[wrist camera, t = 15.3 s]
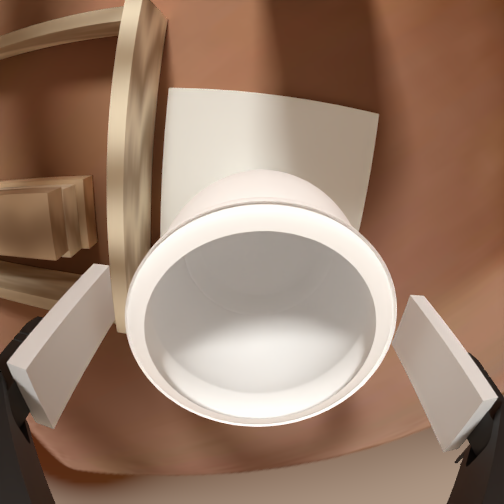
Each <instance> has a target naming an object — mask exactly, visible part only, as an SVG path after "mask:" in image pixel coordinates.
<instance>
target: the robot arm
mask: <svg viewBox="0 0 504 504" xmlns="http://www.w3.org/2000/svg"><path fill="white" fill-rule="evenodd" d="M114 320H115V314H114V306H113V298H112V289H111V279H110V268H109V265H102V264H93V265H92V266H91V267H90V268H89V269H88V270H87V271H86V272H85V273H84V274H83V275H82V276H81V277H80V278H79V279H78V280H77V281H76V282H75V284H74V285H73V286H72V287H71V288H70V289H69V290H68V291H67V292H66V293H65V294H64V295H63V297H62V298H61V299H60V300H59V301H58V302H57V303H56V304H55V305H54V307H53V308H52V309H51V310H50V311H49V312H48V313H47V314H46V316H45V317H44V318H42V317H36V318H34V319H33V320H31V321H29V322H28V323H27V324H26V325H25V326H24V327H23V328H22V329H21V330H20V333H18V334H17V335H16V336H15V337H14V340H12V341H11V342H10V343H9V344H8V346H7V347H6V348H5V349H4V350H3V352H2V353H1V354H0V504H55V501H54V499H53V497H52V494H51V492H50V489H49V487H48V484H47V481H46V479H45V476H44V473H43V470H42V468H41V465H40V462H39V459H38V456H37V452H36V449H35V446H34V443H33V439H32V436H31V432H30V428H29V425H28V423H27V421H26V417H27V416H28V414H29V412H30V413H31V415H32V416H33V418H34V420H35V422H36V423H39V424H42V425H44V426H47V427H49V428H52V429H54V428H55V426H56V424H57V422H58V420H59V418H60V416H61V414H62V412H63V410H64V408H65V406H66V404H67V403H68V401H69V399H70V397H71V395H72V393H73V391H74V390H75V388H76V386H77V384H78V382H79V380H80V379H81V377H82V375H83V373H84V371H85V370H86V368H87V366H88V364H89V363H90V361H91V359H92V357H93V356H94V354H95V352H96V351H97V349H98V347H99V345H100V344H101V342H102V340H103V339H104V337H105V335H106V334H107V332H108V330H109V329H110V327H111V325H112V324H113V322H114ZM392 346H393V347H394V349H395V351H396V353H397V355H398V357H399V359H400V361H401V363H402V365H403V367H404V369H405V371H406V373H407V375H408V377H409V379H410V381H411V383H412V385H413V387H414V389H415V391H416V394H417V396H418V398H419V400H420V402H421V404H422V406H423V408H424V411H425V413H426V415H427V417H428V419H429V421H430V424H431V426H432V428H433V430H434V433H435V435H436V437H437V439H438V442H439V444H440V446H441V449H442V451H443V452H446V451H450V450H454V449H458V448H459V447H460V446H461V445H462V444H463V442H464V441H465V440H466V439H468V441H469V443H470V445H469V446H468V447H467V448H466V449H465V450H464V452H463V453H462V454H461V455H460V456H459V457H458V458H457V460H456V461H455V463H458V462H459V461H460V460H461V459H462V458H463V460H462V463H461V464H460V465H461V466H460V469H459V472H458V475H457V478H456V481H455V484H454V487H453V489H452V492H451V495H450V498H449V500H448V502H447V504H504V397H503V395H502V394H501V392H500V391H499V389H498V388H497V386H496V385H495V384H494V382H493V381H492V379H491V378H490V377H489V375H488V373H487V372H486V371H485V370H484V368H483V366H482V365H481V364H480V362H479V361H478V360H477V359H476V358H475V357H474V356H473V355H471V354H470V353H467V351H466V350H465V349H464V347H463V346H462V344H461V343H460V342H459V340H458V339H457V338H456V336H455V335H454V334H453V332H452V331H451V330H450V328H449V327H448V326H447V325H446V323H445V322H444V321H443V319H442V318H441V317H440V316H439V314H438V313H437V312H436V311H435V309H434V308H433V307H432V305H431V304H430V303H429V302H428V301H427V299H426V298H425V297H424V296H418V295H410V297H409V300H408V303H407V305H406V308H405V311H404V314H403V316H402V319H401V321H400V324H399V327H398V329H397V332H396V334H395V337H394V339H393V341H392Z"/></svg>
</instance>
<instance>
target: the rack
mask: <svg viewBox="0 0 504 504" xmlns="http://www.w3.org/2000/svg"><path fill="white" fill-rule="evenodd" d="M167 21H168V19H167V18H166V17H165V16H164V15H163V13H162V12H161V11H160V10H159V9H158V8H157V7H156V6H155V5H154V4H153V3H152V2H151V1H150V0H125V4H124V6H122V7H115V8H108V9H102V10H96V11H90V12H85V13H80V14H75V15H71V16H66V17H62V18H58V19H54V20H50V21H46V22H43V23H39V24H36V25H32V26H29V27H26V28H22V29H19V30H16V31H13V32H10V33H8V34H5V35H2V36H0V60H2V59H5V58H8V57H12V56H15V55H19V54H22V53H26V52H30V51H34V50H38V49H42V48H46V47H51V46H56V45H60V44H66V43H71V42H76V41H82V40H89V39H95V38H103V37H111V36H118V42H117V48H116V55H115V62H114V70H113V79H112V88H111V98H110V110H109V124H108V143H107V228H108V248H109V262H110V275H111V289H112V298H113V306H114V314H115V320H114V322H113V323H114V324H116V328H117V332H119V333H125V334H127V333H126V327H125V305H126V298H127V294H128V290H129V286H130V284H131V281H132V278H133V276H134V274H135V272H136V270H137V268H138V266H139V265H140V263H141V262H142V260H143V259H144V257H145V256H146V255H147V253H148V252H149V250H150V249H151V186H152V162H153V145H154V130H155V118H156V106H157V96H158V87H159V78H160V69H161V61H162V54H163V47H164V40H165V33H166V27H167ZM81 276H82V275H81V274H75V273H68V272H62V271H56V270H50V269H45V268H39V267H33V266H28V265H22V264H17V263H11V262H6V261H1V260H0V298H4V299H7V300H11V301H15V302H18V303H22V304H26V305H30V306H34V307H38V308H42V309H47V310H51V309H52V308H53V307H54V305H55V304H56V303H57V302H58V301H59V300H60V299H61V298H62V297H63V295H64V294H65V293H66V292H67V291H68V290H69V289H70V288H71V287H72V286H73V285H74V284H75V282H76V281H77V280H78V279H79V278H80V277H81Z"/></svg>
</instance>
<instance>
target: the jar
mask: <svg viewBox="0 0 504 504" xmlns="http://www.w3.org/2000/svg"><path fill="white" fill-rule="evenodd" d="M396 317H397V301H396V293H395V288H394V284H393V281H392V278H391V275H390V273H389V271H388V268H387V266H386V264H385V263H384V261H383V259H382V258H381V256H380V255H379V253H378V252H377V251H376V249H375V248H374V247H373V246H372V244H371V243H370V242H369V241H368V240H367V239H366V238H365V237H364V236H363V235H361V234H360V233H359V232H358V231H357V230H356V229H355V228H354V227H352V226H351V224H350V222H349V221H348V219H347V218H346V216H345V215H344V213H343V212H342V211H341V209H340V208H339V207H338V206H337V205H336V204H335V203H334V201H333V200H332V199H331V198H329V197H328V196H327V195H326V194H325V193H324V192H322V191H321V190H320V189H319V188H317V187H316V186H314V185H312V184H311V183H309V182H307V181H305V180H303V179H301V178H299V177H297V176H294V175H291V174H288V173H284V172H280V171H273V170H265V169H256V170H249V171H244V172H239V173H235V174H232V175H229V176H226V177H224V178H222V179H220V180H218V181H216V182H214V183H212V184H210V185H209V186H207V187H206V188H204V189H203V190H202V191H200V192H199V193H198V194H196V195H195V196H194V197H193V198H192V199H191V200H190V201H189V202H188V203H187V204H186V205H185V206H184V207H183V208H182V210H181V211H180V212H179V213H178V215H177V216H176V218H175V219H174V220H173V222H172V224H171V225H170V227H169V229H168V230H167V232H166V233H165V234H164V235H163V236H162V237H161V238H160V239H159V240H158V241H157V242H156V243H155V244H154V245H153V247H152V248H151V249H150V250H149V252H148V253H147V255H146V256H145V257H144V259H143V260H142V262H141V263H140V265H139V266H138V268H137V270H136V272H135V274H134V276H133V278H132V281H131V284H130V286H129V290H128V294H127V298H126V305H125V327H126V333H127V338H128V342H129V345H130V348H131V350H132V353H133V355H134V357H135V359H136V361H137V363H138V365H139V366H140V368H141V370H142V371H143V373H144V374H145V375H146V377H147V378H148V379H149V380H150V381H151V382H152V384H153V385H154V386H155V387H156V388H157V389H158V390H159V391H161V392H162V393H163V394H164V395H165V396H167V397H168V398H169V399H171V400H172V401H173V402H175V403H176V404H178V405H180V406H181V407H183V408H185V409H187V410H189V411H191V412H193V413H195V414H197V415H200V416H202V417H205V418H208V419H211V420H214V421H218V422H222V423H226V424H232V425H239V426H254V427H260V426H275V425H283V424H288V423H293V422H297V421H301V420H304V419H307V418H310V417H313V416H316V415H318V414H321V413H323V412H325V411H327V410H329V409H331V408H333V407H335V406H336V405H338V404H340V403H341V402H343V401H344V400H346V399H347V398H348V397H350V396H351V395H352V394H354V393H355V392H356V391H357V390H358V389H359V388H361V387H362V386H363V385H364V384H365V383H366V382H367V381H368V379H369V378H370V377H371V376H372V375H373V373H374V372H375V371H376V370H377V368H378V367H379V365H380V364H381V362H382V360H383V359H384V357H385V355H386V353H387V351H388V349H389V346H390V344H391V341H392V338H393V334H394V330H395V325H396Z"/></svg>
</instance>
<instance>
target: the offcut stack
mask: <svg viewBox="0 0 504 504" xmlns="http://www.w3.org/2000/svg"><path fill="white" fill-rule="evenodd" d="M97 242H98V240H97V230H96V220H95V208H94V194H93V175H88V176H63V177H44V178H28V179H15V180H3V181H0V255H4V256H14V257H24V258H34V259H45V260H55V261H56V260H58V259H59V258H60V257H70V258H71V257H72V256H73V255H74V254H76V253H77V252H78V251H79V250H80V249H82V248H83V249H90V248H91V247H92V246H93V245H95V244H96V243H97Z"/></svg>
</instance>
